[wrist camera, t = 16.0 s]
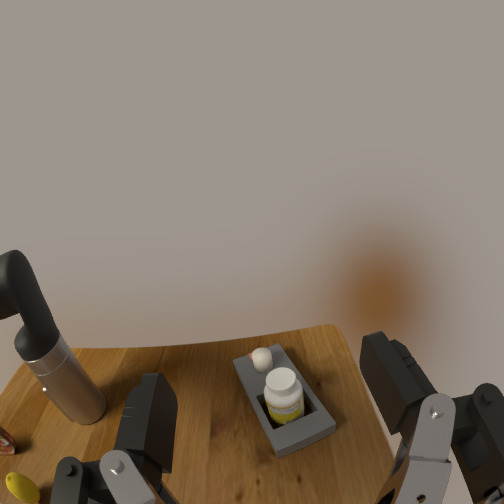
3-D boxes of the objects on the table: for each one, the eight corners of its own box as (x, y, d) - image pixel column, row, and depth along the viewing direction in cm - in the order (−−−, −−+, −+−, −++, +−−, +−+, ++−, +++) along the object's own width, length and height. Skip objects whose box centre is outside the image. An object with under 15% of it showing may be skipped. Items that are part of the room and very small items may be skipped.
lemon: (33, 482, 20) (3, 460, 16) (51, 492, 19) (19, 472, 16) (26, 502, 15) (-5, 482, 11) (45, 514, 14) (11, 496, 11)
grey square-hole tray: (278, 458, 29) (273, 443, 27) (235, 370, 47) (228, 348, 44) (334, 432, 31) (337, 413, 29) (280, 353, 49) (276, 331, 47)
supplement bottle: (279, 396, 40) (272, 359, 36) (310, 405, 37) (308, 368, 33) (263, 421, 36) (253, 386, 32) (295, 432, 33) (291, 399, 29)
